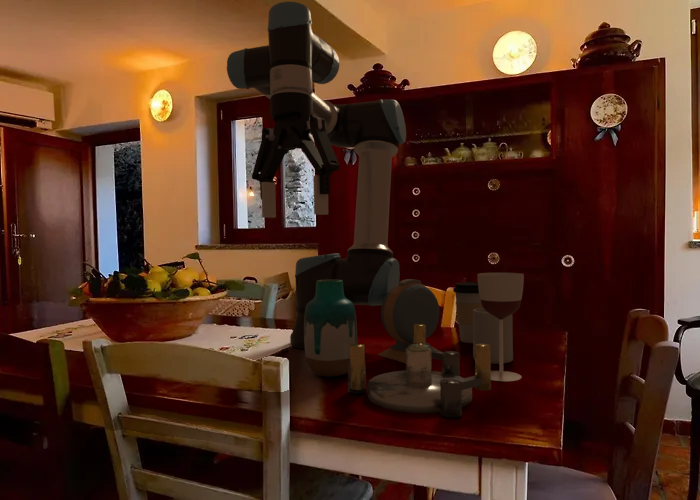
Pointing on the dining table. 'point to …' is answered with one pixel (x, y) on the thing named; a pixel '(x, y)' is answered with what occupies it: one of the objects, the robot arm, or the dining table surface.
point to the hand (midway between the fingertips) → (294, 216)
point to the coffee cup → (466, 308)
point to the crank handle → (448, 358)
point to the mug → (492, 334)
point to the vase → (329, 329)
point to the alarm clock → (408, 315)
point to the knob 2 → (466, 383)
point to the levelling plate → (408, 395)
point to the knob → (357, 369)
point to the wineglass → (501, 307)
